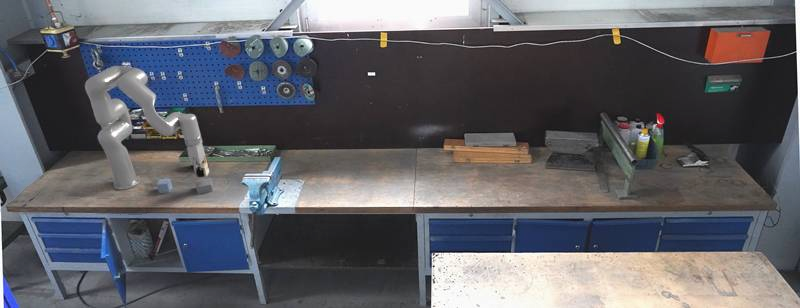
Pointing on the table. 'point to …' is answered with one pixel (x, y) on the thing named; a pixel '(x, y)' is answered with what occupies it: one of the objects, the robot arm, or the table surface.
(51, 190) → the table surface
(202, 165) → the maple cube
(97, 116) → the robot arm
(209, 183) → the base block
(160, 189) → the blue cube
